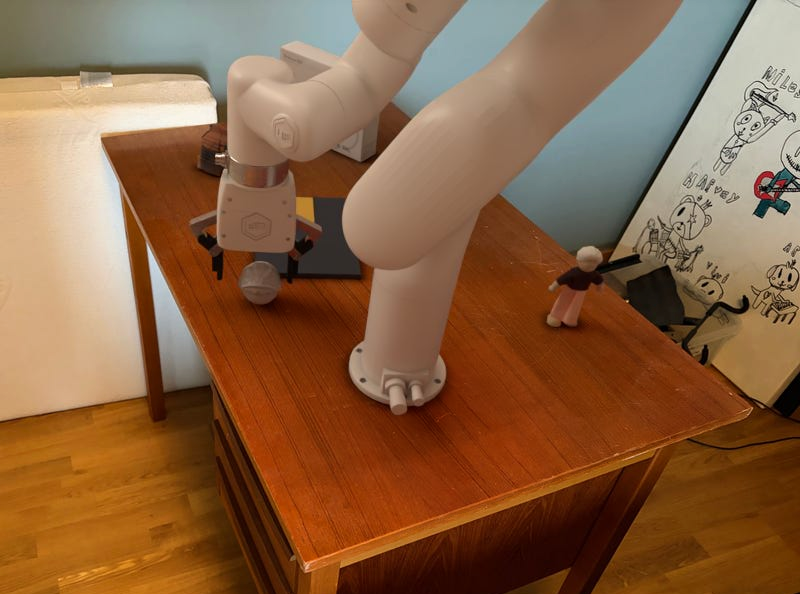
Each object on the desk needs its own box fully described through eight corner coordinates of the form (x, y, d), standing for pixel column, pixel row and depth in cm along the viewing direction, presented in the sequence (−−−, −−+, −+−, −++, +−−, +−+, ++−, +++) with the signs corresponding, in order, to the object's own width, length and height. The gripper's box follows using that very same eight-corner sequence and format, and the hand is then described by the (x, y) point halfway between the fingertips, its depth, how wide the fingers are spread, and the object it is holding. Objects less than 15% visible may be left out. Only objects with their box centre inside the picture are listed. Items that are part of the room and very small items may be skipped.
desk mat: (360, 278, 104) (361, 273, 104) (254, 276, 103) (254, 271, 103) (349, 202, 120) (350, 197, 120) (257, 199, 119) (257, 194, 118)
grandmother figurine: (547, 332, 98) (576, 259, 89) (534, 315, 100) (561, 242, 92) (595, 326, 100) (627, 253, 91) (581, 309, 102) (611, 236, 94)
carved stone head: (236, 316, 96) (234, 275, 92) (241, 285, 101) (240, 245, 97) (279, 319, 96) (280, 278, 92) (283, 288, 102) (284, 248, 97)
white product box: (277, 127, 140) (278, 45, 129) (295, 119, 143) (298, 38, 132) (359, 164, 130) (368, 79, 120) (376, 154, 134) (387, 71, 123)
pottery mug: (185, 163, 128) (197, 118, 125) (229, 176, 133) (241, 133, 131) (212, 176, 119) (226, 128, 116) (258, 190, 124) (272, 144, 122)
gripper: (183, 176, 81) (189, 290, 93) (330, 185, 83) (317, 296, 95) (189, 145, 86) (194, 256, 98) (327, 154, 88) (315, 262, 100)
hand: (254, 275), depth 96 cm, fingers open, 9 cm apart
